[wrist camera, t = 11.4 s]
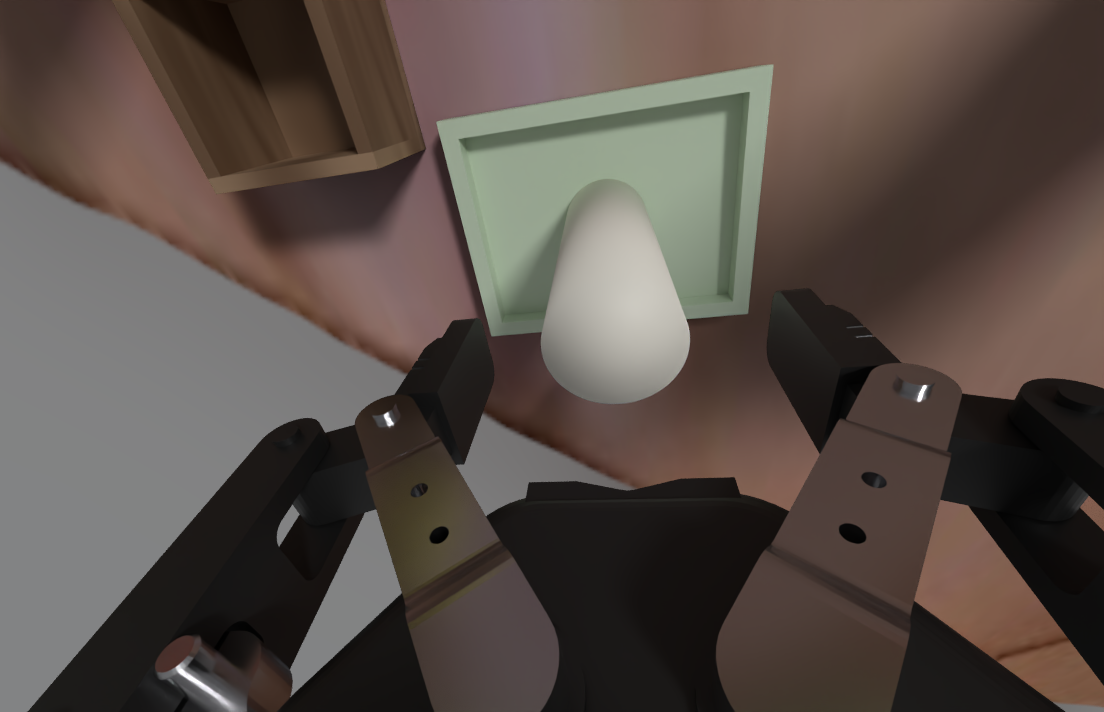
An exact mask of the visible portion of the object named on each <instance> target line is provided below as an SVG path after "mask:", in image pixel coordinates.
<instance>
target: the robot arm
mask: <svg viewBox="0 0 1104 712" xmlns="http://www.w3.org/2000/svg"><path fill="white" fill-rule="evenodd" d="M767 357H768V361H769V364H770V367H771V368H772V370H773V372H774V374H775V375H776V377H777V379H778V381H779V383H780V384H781V386H782V388H783V390H784V391H785V393H786V395H787V397H788V399H789V400H790V402H791V404H792V406H793V407H794V409H795V411H796V413H797V415H798V416H799V418H800V420H801V422H802V423H803V425H804V427H805V429H806V430H807V432H808V434H809V436H810V438H811V439H812V441H813V443H814V445H815V446H816V448H817V450H818V452H819V454H820V455H819V457H818V459H817V461H816V463H815V465H814V467H813V468H812V470H811V472H810V474H809V476H808V478H807V480H806V481H805V483H804V485H803V487H802V489H801V491H800V493H799V494H798V496H797V498H796V500H795V502H794V504H793V506H792V507H791V509H790V511H787V510H785V509H783V508H781V507H779V506H777V505H775V504H772V503H769V502H767V501H764V500H762V499H758V498H755V497H751V496H747V495H742V494H740V492H739V489H738V486H737V483H736V480H735V477H730V478H690V479H678V480H674V481H669V482H665V483H661V484H657V485H652V486H648V487H644V488H640V489H636V490H630V491H626V490H619V489H614V488H609V487H603V486H598V485H593V484H588V483H582V482H577V481H569V482H532V483H530V482H529V484H528V490H527V496H526V498H525V499H521V500H518V501H515V502H512V503H509V504H507V505H505V506H503V507H501V508H499V509H497V510H495V511H494V512H492V513H490V514H489V515H487V516H485V514H484V513H483V511H482V509H481V507H480V506H479V504H478V502H477V501H476V499H475V498H474V495H473V494H472V492H471V490H470V489H469V487H468V486H467V484H466V482H465V480H464V478H463V477H462V475H461V474H460V472H459V470H458V468H457V467H456V465H457V464H464V463H465V461H466V458H467V455H468V452H469V449H470V446H471V444H472V441H473V438H474V435H475V433H476V430H477V427H478V424H479V421H480V419H481V416H482V413H483V410H484V407H485V405H486V402H487V399H488V396H489V393H490V391H491V388H492V385H493V382H494V366H493V361H492V357H491V354H490V350H489V346H488V343H487V339H486V335H485V332H484V328H483V325H482V322H481V321H480V319H478V318H475V319H464V320H454V321H452V322H451V324H450V326H449V327H448V329H447V331H446V332H445V334H444V335H443V337H442V338H437V339H436V340H435V341H433V342H432V343H431V344H429V345H428V346H427V347H426V348H425V349H424V350H423V352H422V353H421V355H420V356H419V358H418V361H416V362H415V364H414V366H413V367H412V370H410V372H409V373H408V375H407V376H406V378H405V379H404V381H403V382H402V384H401V386H400V387H399V389H398V390H397V392H396V393H395V395H391V396H387V397H384V398H381V399H379V400H377V401H374V402H373V403H371V404H370V405H368V406H367V407H365V408H364V409H363V410H362V411H361V412H360V413H359V415H358V416H357V418H356V420H355V425H353V426H349V427H345V428H342V429H338V430H334V431H330V432H327V433H325V432H324V430H323V428H322V426H321V425H320V423H319V422H318V421H317V420H315V419H312V418H303V419H298V420H294V421H291V422H288V423H286V424H283V425H282V426H280V427H278V428H276V429H274V430H273V431H272V432H270V433H269V434H268V435H266V436H265V437H264V438H263V439H262V440H261V441H260V442H259V443H258V445H257V446H256V447H255V448H254V449H253V450H252V452H251V453H250V454H249V455H248V456H247V458H246V459H245V460H244V461H243V462H242V463H241V464H240V466H239V467H238V468H237V469H236V470H235V471H234V473H233V474H232V475H231V476H230V477H229V478H228V479H227V481H226V482H225V483H224V484H223V485H222V486H221V488H220V489H219V490H218V491H217V492H216V493H215V495H214V496H213V497H212V498H211V499H210V501H209V502H208V503H207V504H206V505H205V506H204V507H203V509H202V510H201V511H200V512H199V513H198V514H197V515H196V517H195V518H194V519H193V520H192V521H191V523H190V524H189V525H188V526H187V527H186V528H185V530H184V531H183V532H182V533H181V534H180V535H179V536H178V538H177V539H176V540H175V541H174V542H173V543H172V545H171V546H170V547H169V548H168V549H167V550H166V552H165V553H164V554H163V555H162V556H161V557H160V558H159V560H158V561H157V562H156V563H155V564H154V565H153V567H152V568H151V569H150V570H149V571H148V572H147V574H146V575H145V576H144V577H143V578H142V579H141V581H140V582H139V583H138V584H137V585H136V586H135V588H134V589H133V590H132V591H131V592H130V593H129V595H128V596H127V597H126V598H125V599H124V600H123V601H122V603H121V604H120V605H119V606H118V607H117V608H116V610H115V611H114V612H113V613H112V614H111V615H110V617H109V618H108V619H107V620H106V621H105V623H104V624H103V625H102V626H101V627H100V628H99V629H98V631H97V632H96V633H95V634H94V635H93V636H92V638H91V639H90V640H89V641H88V642H87V643H86V645H85V646H84V647H83V648H82V649H81V650H80V651H79V653H78V654H77V655H76V656H75V657H74V658H73V660H72V661H71V662H70V663H69V664H68V665H67V667H66V668H65V669H64V670H63V671H62V672H61V674H60V675H59V676H58V677H57V678H56V679H55V680H54V682H53V683H52V684H51V685H50V686H49V687H48V689H47V690H46V691H45V692H44V693H43V695H42V696H41V697H40V698H39V699H38V700H37V701H36V703H35V704H34V705H33V706H32V707H31V708H30V710H29V711H28V712H1065V711H1064V710H1062V709H1061V708H1060V707H1058V706H1057V705H1055V704H1054V703H1053V702H1051V701H1050V700H1049V699H1047V698H1046V697H1045V696H1043V695H1042V694H1040V693H1039V692H1038V691H1036V690H1035V689H1034V688H1032V687H1031V686H1030V685H1028V684H1027V683H1025V682H1024V681H1023V680H1021V679H1020V678H1019V677H1017V676H1016V675H1015V674H1013V673H1012V672H1010V671H1009V670H1008V669H1006V668H1005V667H1004V666H1002V665H1001V664H1000V663H998V662H997V661H995V660H994V659H993V658H991V657H990V656H989V655H987V654H986V653H985V652H983V651H982V650H980V649H979V648H978V647H976V646H975V645H974V644H972V643H971V642H970V641H968V640H967V639H965V638H964V637H963V636H961V635H960V634H959V633H957V632H956V631H955V630H953V629H952V628H950V627H949V626H948V625H946V624H945V623H944V622H942V621H941V620H940V619H938V618H937V617H935V616H934V615H933V614H931V613H930V612H929V611H927V610H926V609H925V608H923V607H922V606H920V605H919V604H918V603H916V602H915V601H914V599H915V595H916V591H917V587H918V583H919V579H920V575H921V572H922V568H923V564H924V560H925V556H926V552H927V548H928V544H929V541H930V537H931V533H932V529H933V525H934V521H935V517H936V513H937V510H938V506H939V502H940V500H944V501H949V502H954V503H959V504H964V505H968V506H969V507H970V509H971V510H972V512H973V513H974V514H975V515H976V517H977V518H978V519H979V521H980V522H981V523H982V525H983V526H984V527H985V529H986V530H987V531H988V533H989V534H990V535H991V537H992V538H993V539H994V541H995V542H996V543H997V545H998V546H999V547H1000V549H1001V550H1002V551H1003V553H1004V554H1005V555H1006V557H1007V558H1008V559H1009V561H1010V562H1011V563H1012V565H1013V566H1014V567H1015V569H1016V570H1017V571H1018V573H1019V574H1020V575H1021V576H1022V578H1023V579H1024V580H1025V582H1026V583H1027V584H1028V586H1029V587H1030V588H1031V590H1032V591H1033V592H1034V594H1035V595H1036V596H1037V598H1038V599H1039V600H1040V602H1041V603H1042V604H1043V606H1044V607H1045V608H1046V610H1047V611H1048V612H1049V614H1050V615H1051V616H1052V618H1053V619H1054V620H1055V622H1056V623H1057V624H1058V626H1059V627H1060V628H1061V630H1062V631H1063V632H1064V634H1065V635H1066V636H1067V637H1068V639H1069V640H1070V641H1071V643H1072V644H1073V645H1074V647H1075V648H1076V649H1077V651H1078V652H1079V653H1080V655H1081V656H1082V657H1083V659H1084V660H1085V661H1086V663H1087V664H1088V665H1089V667H1090V668H1091V669H1092V671H1093V672H1094V673H1095V675H1096V676H1097V677H1098V679H1099V680H1100V681H1101V683H1102V684H1103V685H1104V531H1103V530H1102V529H1101V528H1100V527H1099V526H1098V525H1097V524H1096V523H1095V522H1094V521H1093V520H1092V519H1091V518H1090V517H1089V516H1088V515H1087V514H1086V513H1085V512H1084V511H1083V510H1082V509H1081V508H1080V507H1081V505H1082V504H1083V503H1084V501H1085V500H1086V499H1087V497H1088V496H1090V497H1091V498H1092V499H1093V500H1094V501H1095V502H1096V503H1097V504H1098V505H1099V506H1101V507H1102V508H1103V509H1104V389H1103V388H1100V387H1097V386H1094V385H1090V384H1087V383H1082V382H1078V381H1072V380H1066V379H1056V378H1045V379H1036V380H1031V381H1029V382H1026V383H1025V384H1023V386H1022V387H1021V389H1020V391H1019V392H1018V394H1017V396H1016V398H1015V400H1009V399H1001V398H993V397H984V396H976V395H968V394H962V390H961V388H960V386H959V385H958V384H957V383H956V382H955V381H954V380H953V379H951V378H950V377H948V376H947V375H945V374H943V373H941V372H939V371H936V370H934V369H931V368H928V367H924V366H920V365H914V364H907V363H901V362H900V361H899V360H898V359H897V358H896V357H895V356H894V355H893V354H892V353H891V352H890V351H889V350H888V349H887V348H886V347H885V346H884V345H883V344H882V343H881V342H880V341H879V340H878V339H877V338H876V337H873V336H872V333H871V332H870V331H869V330H868V329H867V328H866V327H863V325H862V324H861V323H860V322H859V321H858V320H857V319H856V318H855V317H854V316H853V315H852V314H851V313H849V312H847V311H844V310H842V309H840V308H838V307H836V306H834V305H827V306H826V305H825V304H824V303H823V302H822V301H821V300H820V299H819V298H818V297H817V296H816V295H815V293H814V292H813V291H812V290H811V289H809V288H806V289H795V290H784V291H777V292H776V293H775V294H774V296H773V300H772V307H771V315H770V322H769V330H768V338H767ZM292 504H293V505H294V507H295V508H296V510H297V511H298V512H299V514H300V515H299V516H298V518H297V520H296V521H295V523H294V524H293V526H292V527H291V529H290V531H289V532H288V534H287V535H286V537H285V539H284V540H283V542H282V544H281V545H280V547H279V546H278V544H277V530H278V527H279V525H280V522H281V520H282V519H283V518H284V516H285V515H286V513H287V512H288V510H289V509H290V507H291V506H292ZM375 509H376V510H377V513H378V516H379V519H380V523H381V526H382V529H383V532H384V536H385V539H386V542H387V545H388V549H389V552H390V555H391V558H392V562H393V565H394V568H395V571H396V575H397V578H398V581H399V584H400V588H401V591H402V594H401V595H400V596H398V597H397V598H396V599H395V600H394V601H393V602H392V603H391V604H390V605H389V606H388V607H387V608H386V609H384V610H383V611H382V612H381V613H380V614H379V615H378V616H377V617H376V618H375V619H374V620H373V621H372V622H371V623H370V624H368V625H367V626H366V627H365V628H364V629H363V630H362V631H361V632H360V633H359V634H358V635H357V636H356V637H354V638H353V639H352V640H351V641H350V642H349V643H348V644H347V645H346V646H345V647H344V648H343V649H342V650H341V651H339V652H338V653H337V654H336V655H335V656H334V657H333V658H332V659H331V660H330V661H329V662H328V663H327V664H326V665H324V666H323V667H322V668H321V669H320V670H319V671H318V672H317V673H316V674H315V675H314V676H313V677H312V678H310V679H309V680H308V681H307V682H306V683H305V684H304V685H303V686H302V687H301V688H300V689H299V690H298V691H297V692H295V693H294V695H292V696H291V692H292V683H293V680H292V674H291V671H290V668H291V666H292V663H293V662H294V660H295V657H296V655H297V653H298V651H299V649H300V647H301V645H302V643H303V640H304V639H305V637H306V634H307V632H308V630H309V628H310V626H311V624H312V622H313V620H314V618H315V616H316V614H317V612H318V609H319V607H320V605H321V603H322V601H323V599H324V597H325V595H326V593H327V591H328V588H329V586H330V584H331V582H332V580H333V578H334V576H335V574H336V572H337V570H338V568H339V566H340V564H341V561H342V559H343V557H344V555H345V553H346V551H347V548H348V547H349V545H350V543H351V540H352V538H353V536H354V534H355V532H356V530H357V528H358V526H359V524H360V521H361V520H362V518H363V515H364V513H365V512H368V511H371V510H375ZM290 696H291V697H290Z"/></svg>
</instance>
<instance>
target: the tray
mask: <svg viewBox="0 0 1104 712" xmlns="http://www.w3.org/2000/svg"><path fill="white" fill-rule="evenodd" d="M772 74H773V64H772V65H759V66H753V67H748V68H742V69H736V70H730V71H724V72H718V73H713V74H707V75H701V76H695V77H689V78H683V79H677V80H672V81H666V82H660V83H654V84H648V85H642V86H637V87H631V88H625V89H619V90H613V91H607V92H601V93H596V94H590V95H584V96H578V97H572V98H566V99H560V100H555V101H549V102H543V103H537V104H531V105H525V106H520V107H514V108H508V109H502V110H496V111H490V112H484V113H479V114H473V115H467V116H461V117H455V118H449V119H445V120H441V121H438V122H436V123H437V127H438V131H439V135H440V139H441V143H442V146H443V150H444V154H445V158H446V162H447V166H448V170H449V174H450V177H451V181H452V185H453V189H454V193H455V197H456V201H457V205H458V208H459V212H460V216H461V220H462V224H463V228H464V232H465V236H466V239H467V243H468V247H469V251H470V255H471V259H472V263H473V267H474V271H475V274H476V278H477V282H478V286H479V290H480V294H481V298H482V302H483V305H484V309H485V313H486V317H487V321H488V325H489V329H490V333H491V336H502V335H513V334H525V333H536V332H542V329H543V324H544V320H545V315H546V310H547V305H548V301H549V296H550V291H551V287H552V282H553V277H554V273H555V268H556V263H557V259H558V254H559V249H560V244H561V240H562V235H563V230H564V226H565V221H566V216H567V212H568V208H569V205H570V203H571V201H572V199H573V198H574V196H575V195H576V194H577V193H578V192H579V191H580V190H581V189H582V188H583V187H585V186H586V185H588V184H590V183H591V182H594V181H597V180H601V179H615V180H619V181H622V182H625V183H627V184H628V185H630V186H631V187H633V188H634V189H635V190H636V191H637V192H638V194H639V195H640V196H641V198H642V200H643V202H644V205H645V207H646V210H647V213H648V216H649V218H650V221H651V224H652V227H653V229H654V232H655V235H656V238H657V240H658V243H659V246H660V249H661V251H662V254H663V257H664V260H665V263H666V265H667V268H668V271H669V274H670V276H671V279H672V282H673V285H674V287H675V290H676V293H677V296H678V298H679V301H680V304H681V307H682V309H683V312H684V315H685V318H686V319H695V318H706V317H717V316H729V315H740V314H748V308H749V298H750V289H751V279H752V269H753V259H754V250H755V240H756V230H757V220H758V211H759V201H760V191H761V181H762V172H763V162H764V152H765V142H766V133H767V123H768V113H769V103H770V93H771V84H772Z"/></svg>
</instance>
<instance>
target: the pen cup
mask: <svg viewBox="0 0 1104 712" xmlns="http://www.w3.org/2000/svg"><path fill="white" fill-rule="evenodd" d="M112 2H113V4H114V6H115V8H116V9H117V11H118V13H119V15H120V17H121V19H122V21H123V22H124V24H125V26H126V28H127V30H128V32H129V34H130V35H131V37H132V39H133V41H134V43H135V45H136V46H137V48H138V50H139V52H140V54H141V56H142V58H143V59H144V61H145V63H146V65H147V67H148V69H149V71H150V72H151V74H152V76H153V78H154V80H155V82H156V84H157V85H158V87H159V89H160V91H161V93H162V95H163V97H164V98H165V100H166V102H167V104H168V106H169V108H170V110H171V111H172V113H173V115H174V117H175V119H176V121H177V122H178V124H179V126H180V128H181V130H182V132H183V134H184V135H185V137H186V139H187V141H188V143H189V145H190V147H191V148H192V150H193V152H194V154H195V156H196V158H197V160H198V161H199V163H200V165H201V167H202V169H203V171H204V173H205V174H206V176H207V178H208V180H209V182H210V184H211V186H212V187H213V189H214V191H215V193H216V194H221V193H227V192H234V191H240V190H247V189H253V188H259V187H266V186H272V185H279V184H285V183H291V182H298V181H304V180H311V179H317V178H323V177H330V176H336V175H343V174H349V173H355V172H362V171H368V170H375V169H379V168H382V167H384V166H387V165H389V164H391V163H394V162H396V161H398V160H401V159H403V158H405V157H408V156H410V155H412V154H415V153H417V152H420V151H422V150H424V149H426V147H425V144H424V140H423V137H422V133H421V129H420V126H419V122H418V119H417V115H416V111H415V108H414V104H413V101H412V97H411V93H410V90H409V86H408V82H407V79H406V75H405V72H404V68H403V64H402V61H401V57H400V54H399V50H398V46H397V43H396V39H395V36H394V32H393V28H392V25H391V21H390V18H389V14H388V10H387V7H386V3H385V0H112Z"/></svg>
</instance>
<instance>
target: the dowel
mask: <svg viewBox="0 0 1104 712" xmlns="http://www.w3.org/2000/svg"><path fill="white" fill-rule="evenodd" d="M689 347H690V332H689V327H688V323H687V320H686V318H685V315H684V312H683V309H682V307H681V304H680V301H679V298H678V296H677V293H676V290H675V287H674V285H673V282H672V279H671V276H670V274H669V271H668V268H667V265H666V263H665V260H664V257H663V254H662V251H661V249H660V246H659V243H658V240H657V238H656V235H655V232H654V229H653V227H652V224H651V221H650V218H649V216H648V213H647V210H646V207H645V205H644V202H643V200H642V198H641V196H640V195H639V194H638V192H637V191H636V190H635V189H634V188H633V187H631V186H630V185H628V184H627V183H625V182H622V181H619V180H615V179H601V180H597V181H594V182H591V183H590V184H588V185H586V186H585V187H583V188H582V189H581V190H580V191H579V192H578V193H577V194H576V195H575V196H574V198H573V199H572V201H571V203H570V205H569V208H568V212H567V216H566V221H565V226H564V230H563V235H562V240H561V244H560V249H559V254H558V259H557V263H556V268H555V273H554V277H553V282H552V287H551V291H550V296H549V301H548V305H547V310H546V315H545V320H544V324H543V329H542V334H541V352H542V356H543V360H544V362H545V365H546V367H547V369H548V370H549V372H550V374H551V375H552V376H553V378H554V379H555V380H556V381H557V382H558V383H559V384H560V385H561V386H562V387H563V388H565V389H566V390H568V391H569V392H571V393H572V394H574V395H576V396H578V397H580V398H583V399H585V400H589V401H592V402H597V403H602V404H624V403H631V402H635V401H639V400H642V399H645V398H647V397H649V396H652V395H654V394H655V393H657V392H659V391H660V390H662V389H663V388H664V387H666V386H667V385H668V384H669V383H670V382H671V381H672V380H674V378H675V377H676V376H677V375H678V373H679V372H680V371H681V369H682V367H683V366H684V363H685V361H686V359H687V356H688V352H689Z"/></svg>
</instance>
